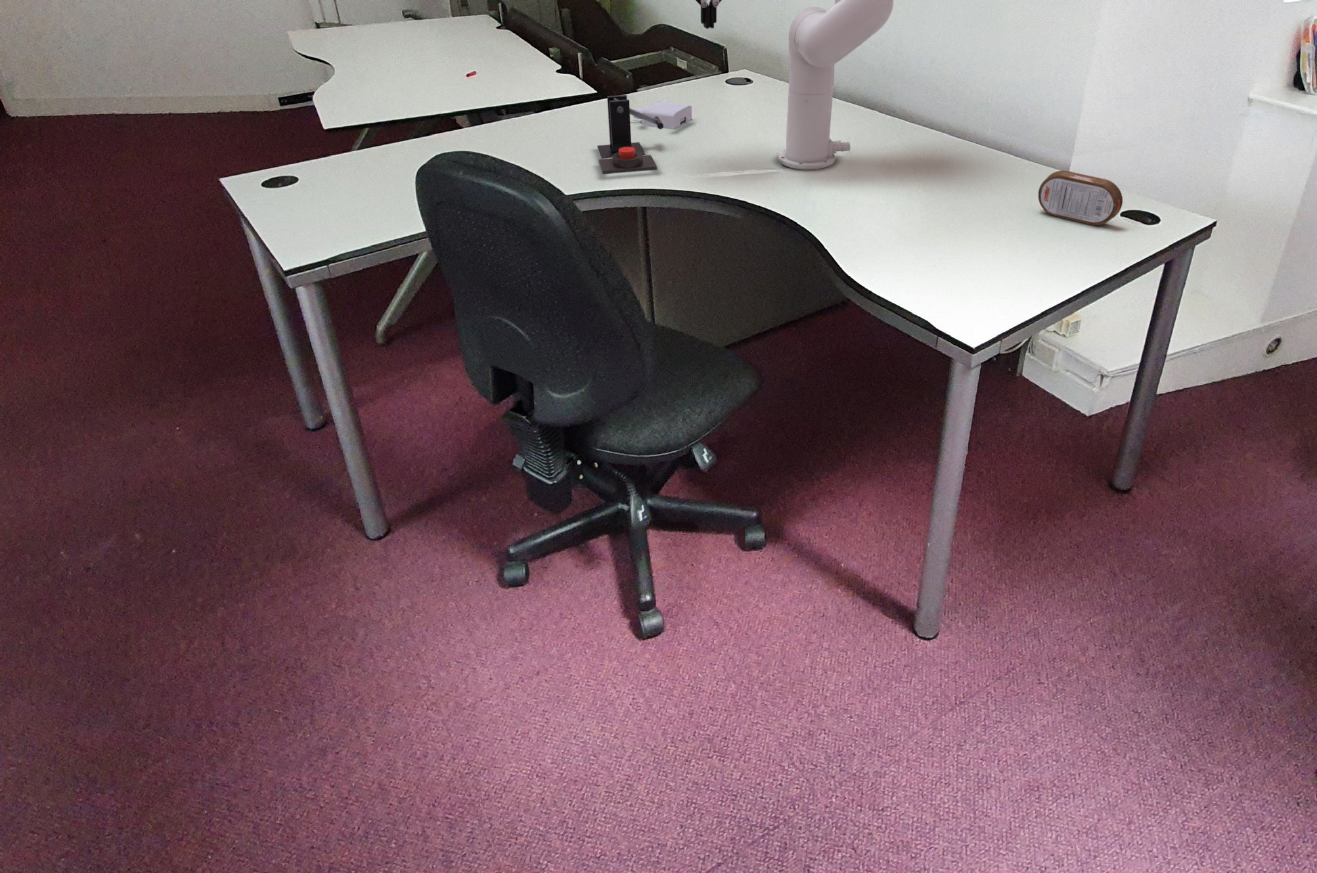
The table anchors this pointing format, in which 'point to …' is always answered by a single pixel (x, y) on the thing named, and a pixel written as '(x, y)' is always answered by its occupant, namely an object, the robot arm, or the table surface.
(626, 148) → the button
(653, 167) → the control block
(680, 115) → the charger
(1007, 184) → the table surface
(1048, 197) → the tin
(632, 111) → the lever
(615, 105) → the bracket
